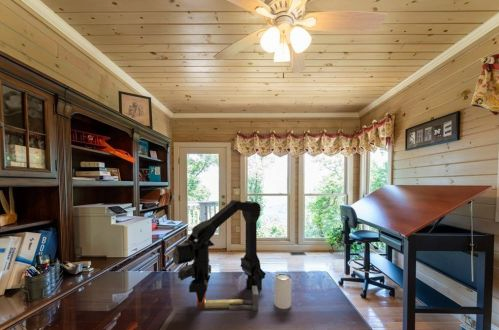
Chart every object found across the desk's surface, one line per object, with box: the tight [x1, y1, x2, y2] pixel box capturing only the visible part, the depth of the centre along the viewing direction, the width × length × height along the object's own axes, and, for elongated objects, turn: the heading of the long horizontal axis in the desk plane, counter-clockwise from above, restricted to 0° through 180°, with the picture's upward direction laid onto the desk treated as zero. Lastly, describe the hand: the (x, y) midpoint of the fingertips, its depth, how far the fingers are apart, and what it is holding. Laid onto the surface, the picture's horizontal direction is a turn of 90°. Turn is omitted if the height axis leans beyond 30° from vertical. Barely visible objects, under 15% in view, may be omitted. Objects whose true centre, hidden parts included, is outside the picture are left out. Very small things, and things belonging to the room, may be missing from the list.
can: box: [273, 273, 292, 310], centre depth 98 cm, size 6×6×12 cm
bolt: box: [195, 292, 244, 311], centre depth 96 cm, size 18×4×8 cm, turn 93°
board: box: [228, 286, 259, 312], centre depth 96 cm, size 27×11×7 cm, turn 93°
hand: (201, 299), depth 95 cm, fingers closed on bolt, 4 cm apart
